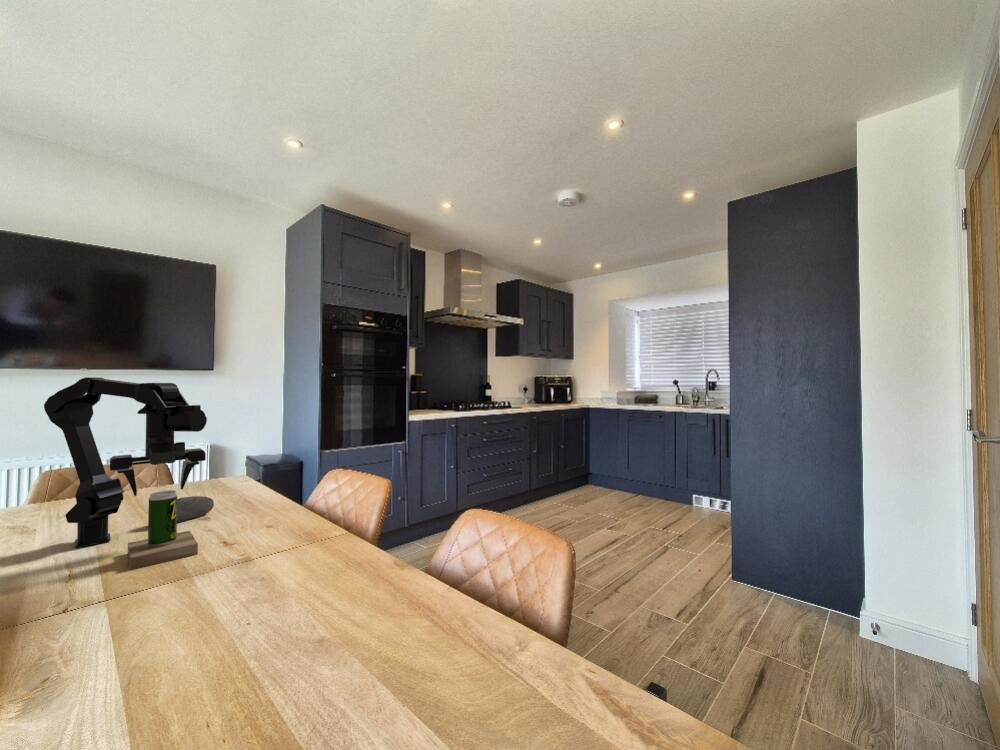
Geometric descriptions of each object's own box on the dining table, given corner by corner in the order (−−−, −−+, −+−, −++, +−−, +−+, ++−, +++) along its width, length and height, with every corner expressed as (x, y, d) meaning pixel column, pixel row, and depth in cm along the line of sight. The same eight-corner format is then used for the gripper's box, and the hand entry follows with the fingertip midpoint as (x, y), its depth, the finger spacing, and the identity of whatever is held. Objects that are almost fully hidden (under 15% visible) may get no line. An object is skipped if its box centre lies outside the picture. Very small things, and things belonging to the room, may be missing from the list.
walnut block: (127, 553, 100) (127, 543, 100) (189, 540, 108) (189, 530, 108) (131, 569, 91) (131, 558, 91) (197, 553, 100) (197, 543, 100)
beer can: (146, 549, 96) (147, 497, 97) (149, 542, 101) (150, 492, 101) (175, 544, 99) (176, 493, 100) (177, 537, 104) (177, 489, 104)
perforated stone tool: (210, 511, 133) (210, 489, 133) (218, 514, 130) (218, 492, 130) (151, 525, 120) (152, 501, 120) (158, 528, 117) (159, 504, 117)
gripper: (111, 437, 95) (110, 506, 94) (210, 431, 108) (209, 491, 107) (110, 433, 103) (109, 497, 102) (202, 427, 116) (201, 484, 115)
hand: (159, 492), depth 107 cm, fingers open, 9 cm apart
